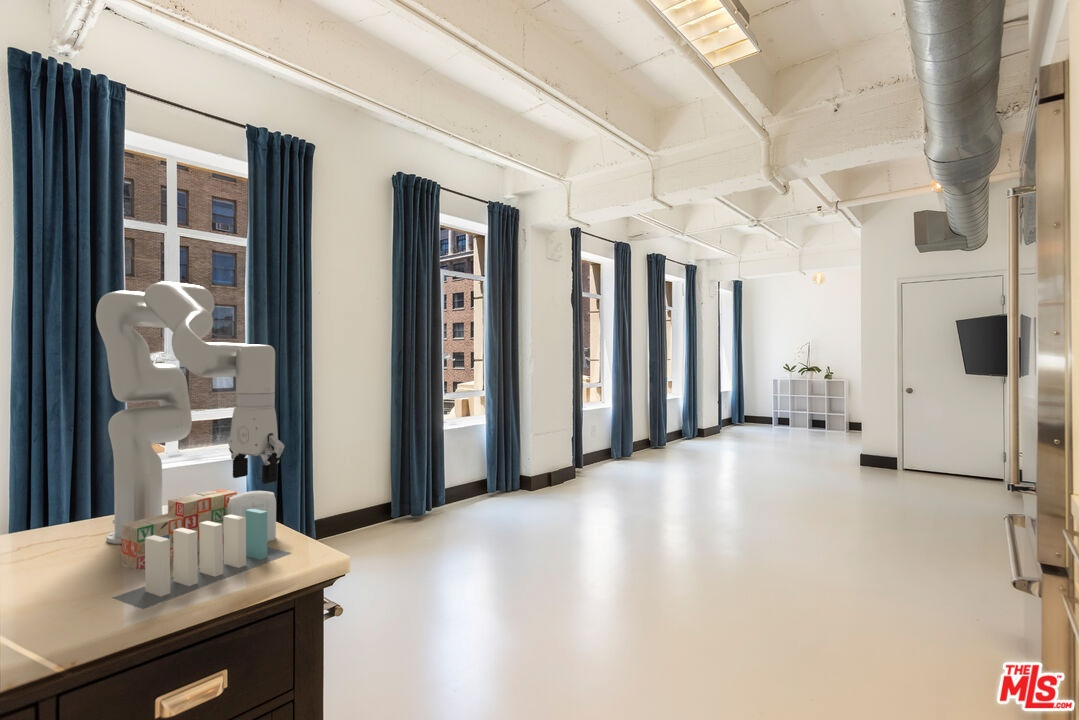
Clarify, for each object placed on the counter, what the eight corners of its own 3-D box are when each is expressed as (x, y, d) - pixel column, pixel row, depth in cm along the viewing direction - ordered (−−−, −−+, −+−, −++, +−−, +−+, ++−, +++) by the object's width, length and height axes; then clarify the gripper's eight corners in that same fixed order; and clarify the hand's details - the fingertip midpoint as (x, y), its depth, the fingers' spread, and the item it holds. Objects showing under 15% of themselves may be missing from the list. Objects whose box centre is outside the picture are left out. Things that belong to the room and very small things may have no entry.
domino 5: (245, 555, 119) (245, 510, 119) (252, 553, 121) (252, 508, 121) (260, 559, 117) (260, 513, 117) (267, 557, 118) (267, 511, 118)
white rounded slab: (274, 537, 133) (274, 486, 133) (277, 542, 130) (277, 490, 130) (226, 545, 128) (226, 492, 128) (227, 550, 124) (227, 496, 124)
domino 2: (173, 581, 106) (173, 529, 106) (182, 578, 107) (181, 527, 107) (189, 586, 104) (188, 533, 103) (197, 583, 105) (197, 531, 105)
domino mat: (112, 600, 99) (112, 597, 99) (262, 548, 126) (262, 545, 126) (143, 612, 94) (143, 609, 94) (292, 555, 121) (292, 552, 121)
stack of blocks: (136, 573, 112) (135, 513, 111) (121, 567, 115) (120, 509, 114) (237, 542, 130) (237, 490, 130) (222, 538, 133) (222, 487, 133)
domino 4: (223, 563, 115) (223, 516, 115) (230, 561, 116) (230, 514, 116) (238, 567, 112) (238, 519, 112) (246, 565, 114) (245, 517, 114)
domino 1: (145, 591, 101) (144, 537, 101) (154, 587, 103) (154, 535, 103) (160, 596, 99) (160, 541, 99) (170, 593, 101) (169, 539, 100)
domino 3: (199, 572, 110) (199, 522, 110) (207, 569, 112) (207, 520, 112) (215, 576, 108) (214, 526, 108) (222, 573, 109) (222, 524, 109)
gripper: (213, 400, 119) (213, 478, 119) (266, 405, 111) (265, 488, 112) (245, 397, 126) (245, 471, 126) (297, 402, 118) (296, 481, 118)
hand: (254, 479), depth 119 cm, fingers open, 9 cm apart
